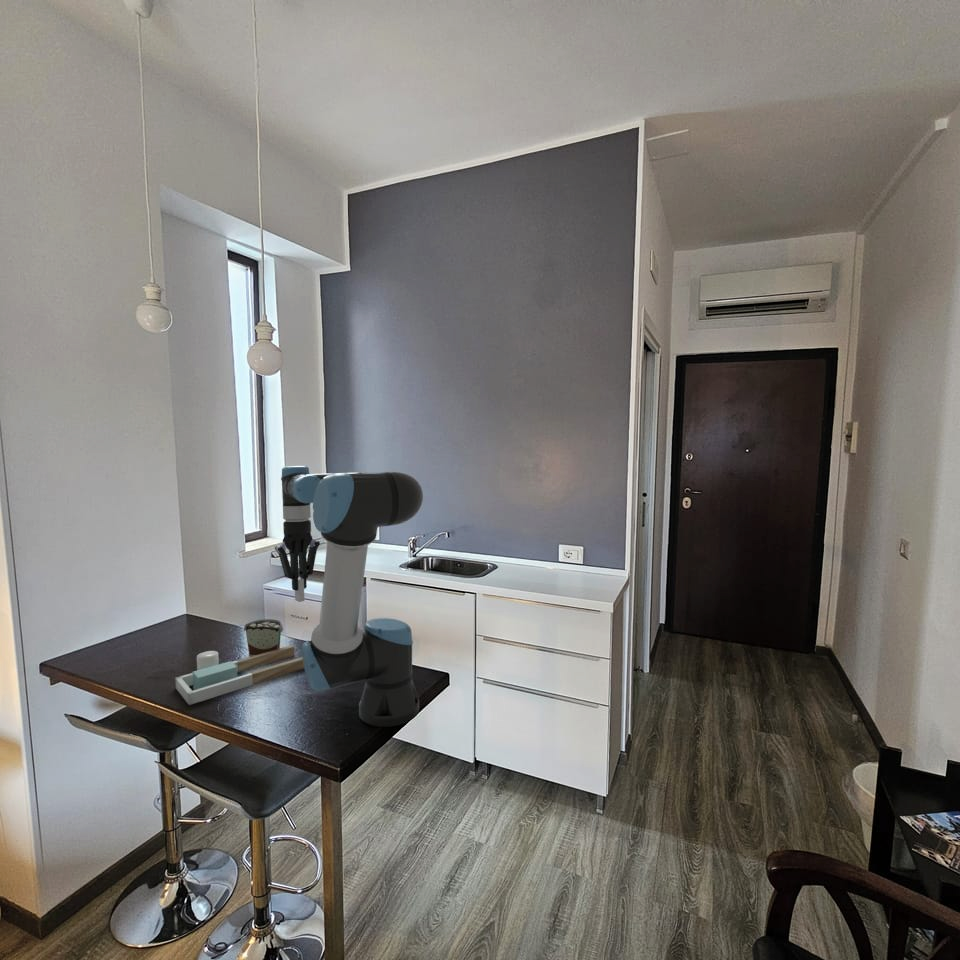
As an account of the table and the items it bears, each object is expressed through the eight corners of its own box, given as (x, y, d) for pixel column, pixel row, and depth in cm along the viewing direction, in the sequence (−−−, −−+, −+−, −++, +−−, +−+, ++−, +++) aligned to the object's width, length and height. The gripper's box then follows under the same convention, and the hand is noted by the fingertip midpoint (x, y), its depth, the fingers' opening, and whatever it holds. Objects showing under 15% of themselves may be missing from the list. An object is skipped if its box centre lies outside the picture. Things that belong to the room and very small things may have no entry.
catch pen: (252, 684, 149) (252, 674, 149) (189, 705, 138) (188, 694, 138) (236, 670, 158) (236, 660, 158) (175, 688, 147) (175, 677, 147)
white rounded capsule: (221, 674, 155) (221, 655, 155) (200, 681, 151) (200, 660, 151) (215, 668, 159) (214, 649, 159) (195, 674, 155) (194, 654, 155)
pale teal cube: (218, 689, 146) (218, 672, 146) (198, 695, 143) (198, 677, 143) (212, 683, 150) (212, 666, 150) (193, 689, 147) (192, 671, 146)
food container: (290, 649, 174) (289, 619, 173) (281, 657, 168) (280, 626, 167) (254, 647, 175) (253, 617, 174) (244, 655, 169) (243, 624, 168)
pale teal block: (237, 683, 150) (237, 666, 149) (218, 689, 146) (218, 672, 146) (231, 677, 154) (230, 661, 153) (212, 683, 150) (212, 666, 150)
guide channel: (309, 666, 161) (309, 657, 161) (252, 684, 149) (252, 674, 149) (292, 654, 170) (292, 645, 169) (236, 670, 158) (236, 660, 158)
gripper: (311, 516, 160) (313, 593, 162) (269, 521, 151) (272, 602, 152) (324, 518, 155) (326, 598, 157) (281, 523, 146) (284, 608, 147)
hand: (299, 600), depth 155 cm, fingers closed
